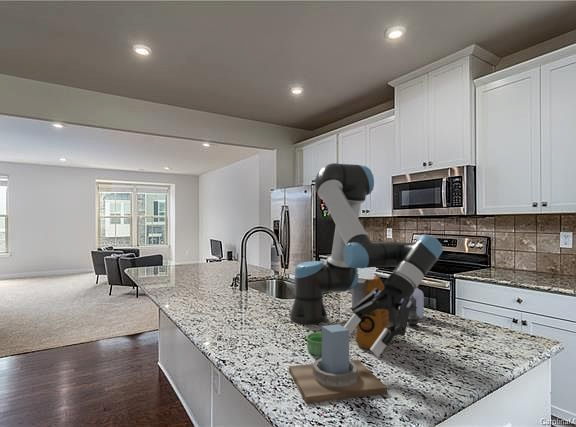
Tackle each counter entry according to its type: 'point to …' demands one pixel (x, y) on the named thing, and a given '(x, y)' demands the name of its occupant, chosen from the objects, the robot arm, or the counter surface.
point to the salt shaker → (413, 315)
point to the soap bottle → (419, 302)
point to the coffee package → (372, 319)
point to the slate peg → (335, 349)
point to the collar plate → (334, 392)
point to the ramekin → (314, 343)
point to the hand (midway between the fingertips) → (357, 343)
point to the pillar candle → (359, 291)
